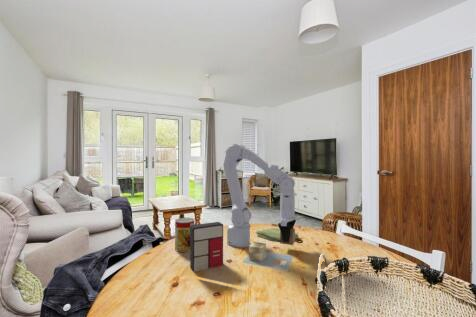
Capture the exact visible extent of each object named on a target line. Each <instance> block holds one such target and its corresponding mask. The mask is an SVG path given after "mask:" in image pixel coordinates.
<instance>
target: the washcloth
mask: <svg viewBox="0 0 476 317" xmlns="http://www.w3.org/2000/svg"><path fill="white" fill-rule="evenodd" d="M255 233H256V234H257V237H258V238H262V239H264V240H268V241H271V242H275V243H280V228H276V227H269V228H263V229H261V230H256V232H255ZM298 239H299V235H298V233H297V232H295V241H296V240H298Z"/></svg>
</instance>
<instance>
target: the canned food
mask: <svg viewBox="0 0 476 317" xmlns="http://www.w3.org/2000/svg"><path fill="white" fill-rule="evenodd" d="M191 225H195V219H194V218H193V217H180V218H176V219H175V221H174V251H176V250H177V252H178V251H180V252H179V253H186V252H187V251H188V252H190V226H191ZM188 252H187V253H188Z"/></svg>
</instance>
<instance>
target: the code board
mask: <svg viewBox="0 0 476 317" xmlns="http://www.w3.org/2000/svg"><path fill="white" fill-rule="evenodd" d="M293 259H294V255H290V254H283V253H277V252H270V251H266V258H265V259H264V260H263V262H259V261H253V260H249V255H248V256H247V257H246V258H245V259H244V260H242V263H244V264H249V265H254V266H259V267H265V268H269V269H275V270H280V271H285V272H288V270H289V268H290V265H291V263H292V261H293Z"/></svg>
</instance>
